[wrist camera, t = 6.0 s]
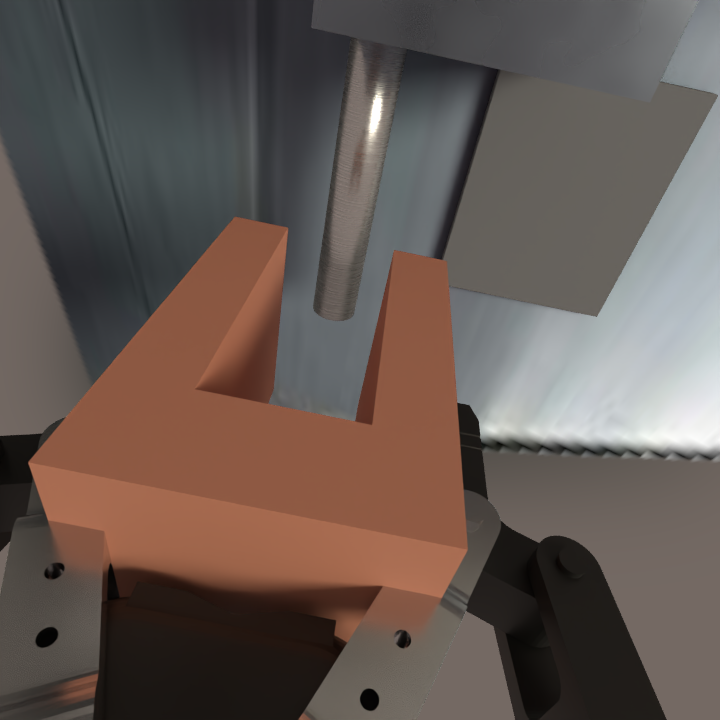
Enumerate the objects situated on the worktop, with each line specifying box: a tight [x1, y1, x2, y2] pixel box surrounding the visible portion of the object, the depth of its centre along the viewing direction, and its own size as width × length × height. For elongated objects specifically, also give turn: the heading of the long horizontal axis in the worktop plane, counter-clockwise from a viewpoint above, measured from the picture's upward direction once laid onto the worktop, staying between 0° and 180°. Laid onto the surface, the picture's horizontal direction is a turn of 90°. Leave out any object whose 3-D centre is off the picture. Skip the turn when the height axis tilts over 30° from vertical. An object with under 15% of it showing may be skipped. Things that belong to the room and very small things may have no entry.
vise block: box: [311, 0, 699, 321], centre depth 17 cm, size 18×9×13 cm, turn 170°
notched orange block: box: [28, 217, 468, 643], centre depth 12 cm, size 6×6×9 cm
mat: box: [441, 69, 718, 317], centre depth 24 cm, size 9×11×1 cm
